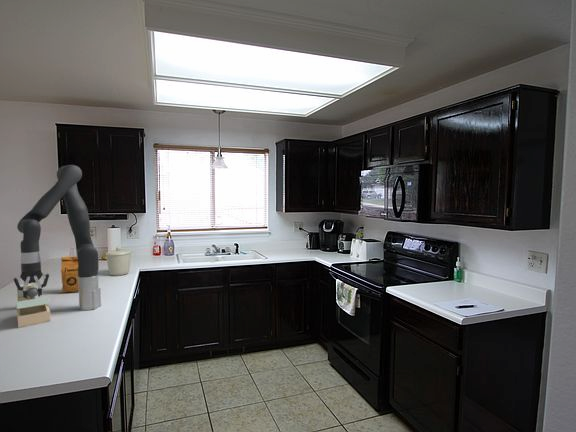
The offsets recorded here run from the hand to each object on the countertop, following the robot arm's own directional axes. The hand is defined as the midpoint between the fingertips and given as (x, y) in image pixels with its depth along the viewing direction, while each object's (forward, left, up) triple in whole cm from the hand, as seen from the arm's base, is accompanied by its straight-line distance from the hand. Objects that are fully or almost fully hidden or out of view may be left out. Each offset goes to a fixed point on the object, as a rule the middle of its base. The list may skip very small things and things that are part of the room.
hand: (32, 297), depth 164 cm
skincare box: (+19, -20, -12) cm, 30 cm away
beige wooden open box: (+2, -3, -12) cm, 12 cm away
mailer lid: (+2, -2, -6) cm, 7 cm away
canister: (+8, -97, -12) cm, 98 cm away
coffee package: (+13, -51, -12) cm, 54 cm away
